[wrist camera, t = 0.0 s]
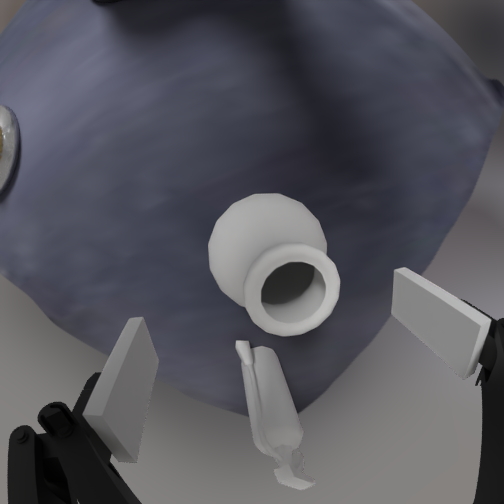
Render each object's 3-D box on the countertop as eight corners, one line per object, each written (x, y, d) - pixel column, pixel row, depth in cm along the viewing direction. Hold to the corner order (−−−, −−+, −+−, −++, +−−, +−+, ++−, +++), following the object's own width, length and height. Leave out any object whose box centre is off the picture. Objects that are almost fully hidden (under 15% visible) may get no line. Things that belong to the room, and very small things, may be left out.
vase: (217, 181, 38) (217, 188, 19) (314, 199, 41) (390, 222, 22) (203, 278, 42) (195, 359, 23) (294, 289, 44) (345, 366, 25)
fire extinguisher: (256, 323, 45) (290, 456, 21) (289, 367, 49) (330, 482, 25) (221, 342, 45) (230, 476, 22) (258, 383, 49) (283, 500, 25)
